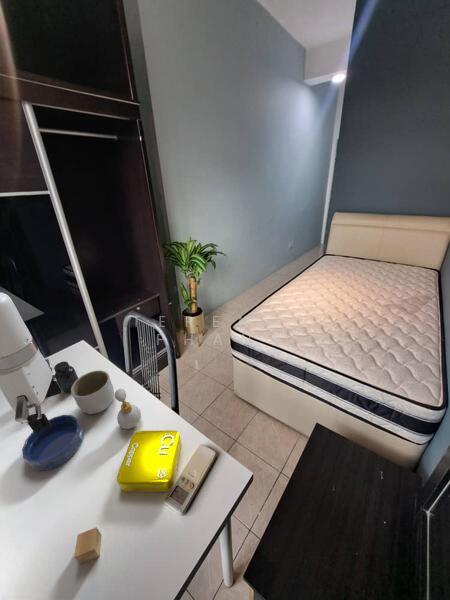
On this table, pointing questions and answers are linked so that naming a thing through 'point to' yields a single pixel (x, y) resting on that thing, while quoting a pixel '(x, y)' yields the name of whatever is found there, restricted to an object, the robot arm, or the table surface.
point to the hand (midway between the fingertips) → (49, 410)
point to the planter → (93, 392)
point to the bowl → (53, 443)
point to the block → (88, 545)
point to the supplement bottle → (65, 376)
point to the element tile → (150, 462)
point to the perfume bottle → (127, 411)
